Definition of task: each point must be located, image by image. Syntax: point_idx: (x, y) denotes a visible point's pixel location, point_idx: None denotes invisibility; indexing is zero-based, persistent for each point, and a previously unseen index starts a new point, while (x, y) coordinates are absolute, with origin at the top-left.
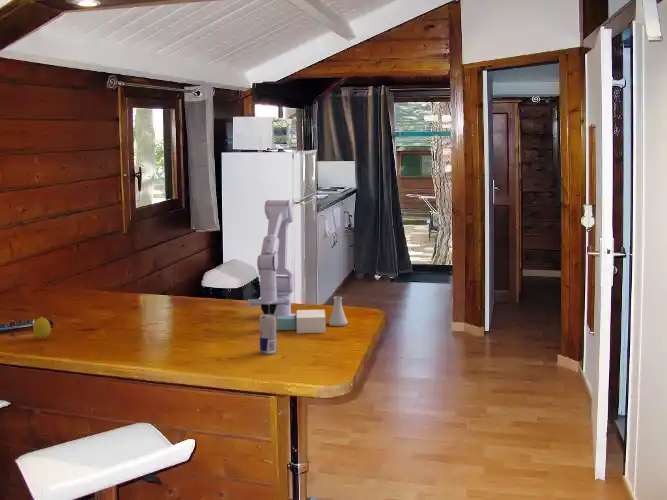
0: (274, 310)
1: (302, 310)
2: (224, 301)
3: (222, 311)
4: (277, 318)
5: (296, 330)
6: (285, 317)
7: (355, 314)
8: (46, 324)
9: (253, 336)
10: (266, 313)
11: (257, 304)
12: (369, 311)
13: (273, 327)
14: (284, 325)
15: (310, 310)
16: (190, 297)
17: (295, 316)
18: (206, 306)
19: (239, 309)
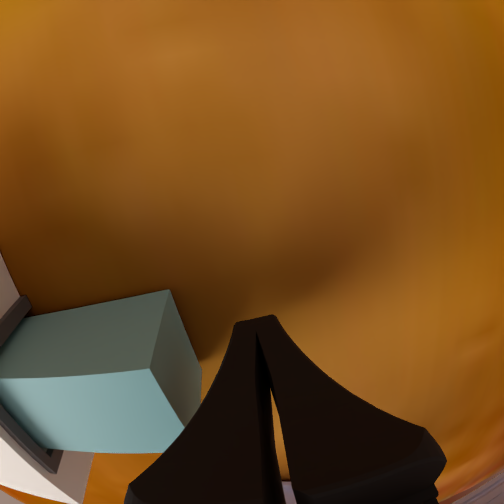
0: (150, 474)
1: (41, 492)
2: (441, 497)
3: (471, 454)
4: (153, 391)
5: (19, 299)
6: (90, 420)
7: None
8: None
9: (360, 70)
10: (312, 412)
11: (493, 496)
12: (6, 489)
13: None
14: (91, 329)
15: (3, 479)
16: (493, 474)
17: (36, 434)
18: (490, 458)
19: None
